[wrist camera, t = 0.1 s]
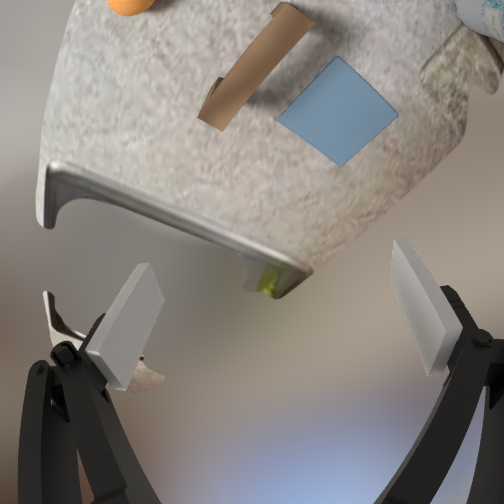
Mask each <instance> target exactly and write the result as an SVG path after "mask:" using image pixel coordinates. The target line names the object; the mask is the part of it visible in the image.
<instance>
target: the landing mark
mask: <svg viewBox="0 0 504 504" xmlns="http://www.w3.org/2000/svg"><path fill="white" fill-rule="evenodd" d="M397 116H398V114H397V113H396V112H395V111H394V110H393V108H392V107H391V106H390V105H389V104H388V103H387V102H386V101H385V100H384V99H383V98H382V97H381V96H380V95H379V94H378V93H377V92H376V91H375V90H374V89H373V88H372V87H371V86H370V85H369V84H368V83H367V82H366V81H365V80H364V79H363V78H362V77H361V76H359V75H358V74H357V73H356V72H355V71H354V70H353V69H352V68H351V67H350V66H348V65H347V64H346V63H345V62H344V61H343V60H342V59H340V58H339V57H338V56H337V57H336V58H335V59H334V60H333V61H332V62H331V63H330V64H329V65H328V66H327V67H326V68H325V69H324V70H323V71H322V72H321V73H320V74H319V75H318V76H317V77H316V78H315V79H314V80H313V81H312V82H311V83H310V84H309V85H308V86H307V88H306V89H305V90H304V91H303V92H302V93H301V94H300V95H299V96H298V97H297V98H296V99H295V100H294V101H293V103H292V104H291V105H290V106H289V107H288V108H287V109H286V110H285V111H284V112H283V113H282V115H281V116H280V117H279V118H278V119H277V121H278V122H280V123H281V124H283V125H284V126H285V127H287V128H288V129H290V130H291V131H293V132H294V133H295V134H297V135H298V136H300V137H301V138H302V139H304V140H305V141H307V142H308V143H309V144H311V145H312V146H313V147H315V148H316V149H317V150H319V151H320V152H321V153H323V154H324V155H325V156H327V157H328V158H329V159H331V160H332V161H333V162H334V163H336V164H337V165H338V166H339V167H341V166H342V165H344V164H345V163H346V162H347V161H348V160H349V159H350V158H351V157H352V156H354V155H355V154H356V153H357V152H358V151H359V150H360V149H361V148H362V147H364V146H365V145H366V144H367V143H368V142H369V141H370V140H371V139H373V138H374V137H375V136H376V135H377V134H378V133H379V132H380V131H381V130H383V129H384V128H385V127H386V126H387V125H388V124H389V123H390V122H392V121H393V120H394V119H395V118H396V117H397Z"/></svg>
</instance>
